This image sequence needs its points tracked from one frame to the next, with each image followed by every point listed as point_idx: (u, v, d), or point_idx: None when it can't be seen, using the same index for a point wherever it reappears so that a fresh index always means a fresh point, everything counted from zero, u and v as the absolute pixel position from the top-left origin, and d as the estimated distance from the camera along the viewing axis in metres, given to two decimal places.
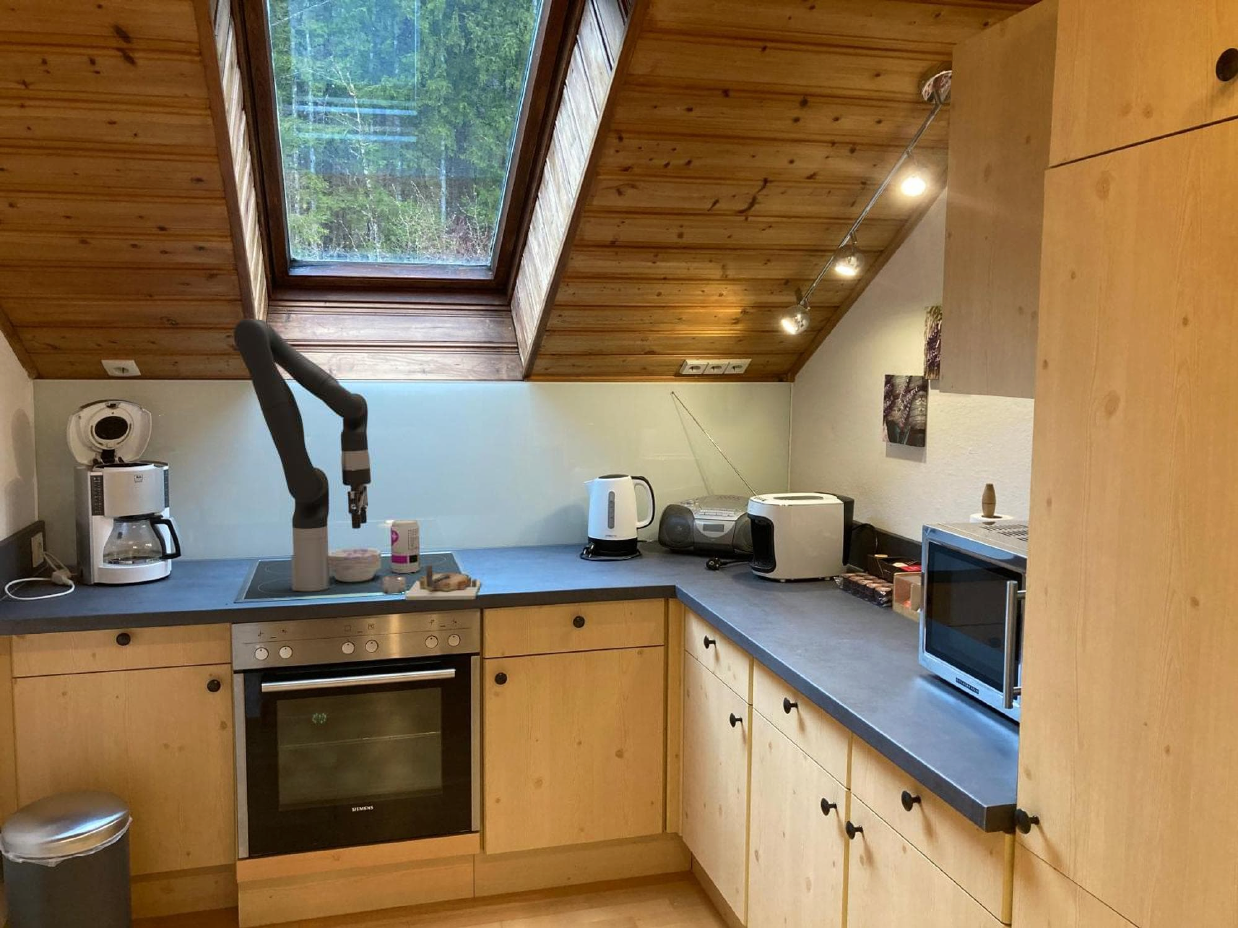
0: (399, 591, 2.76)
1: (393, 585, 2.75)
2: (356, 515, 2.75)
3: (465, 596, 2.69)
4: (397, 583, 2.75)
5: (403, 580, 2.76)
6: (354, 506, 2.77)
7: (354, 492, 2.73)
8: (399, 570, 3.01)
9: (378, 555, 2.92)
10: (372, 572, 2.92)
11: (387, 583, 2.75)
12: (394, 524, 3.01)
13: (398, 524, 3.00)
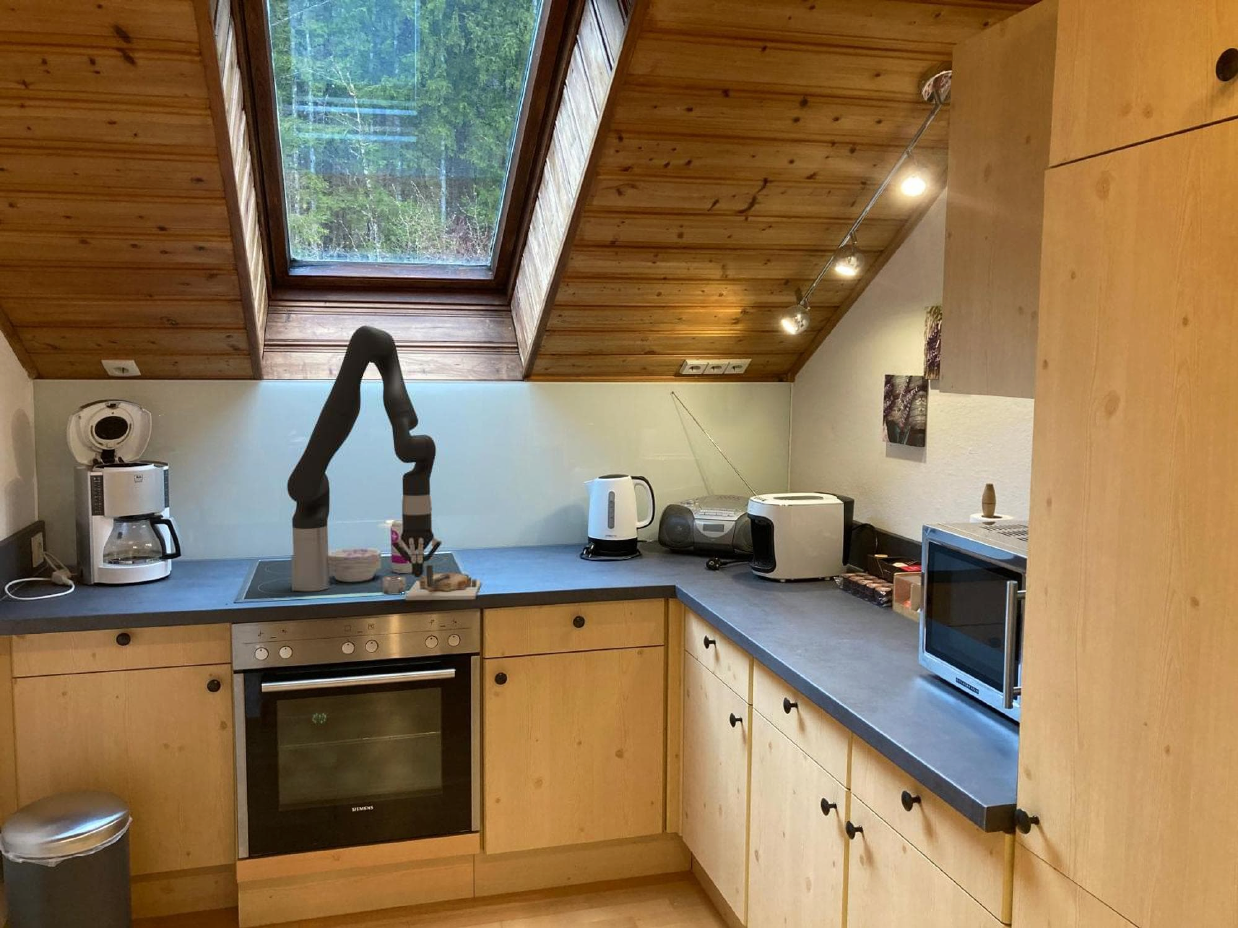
0: (399, 591, 2.76)
1: (393, 585, 2.75)
2: (423, 562, 2.70)
3: (465, 596, 2.69)
4: (397, 583, 2.75)
5: (403, 580, 2.76)
6: None
7: (441, 543, 2.70)
8: (399, 570, 3.01)
9: (378, 555, 2.92)
10: (372, 572, 2.92)
11: (387, 583, 2.75)
12: (394, 524, 3.01)
13: (398, 524, 3.00)
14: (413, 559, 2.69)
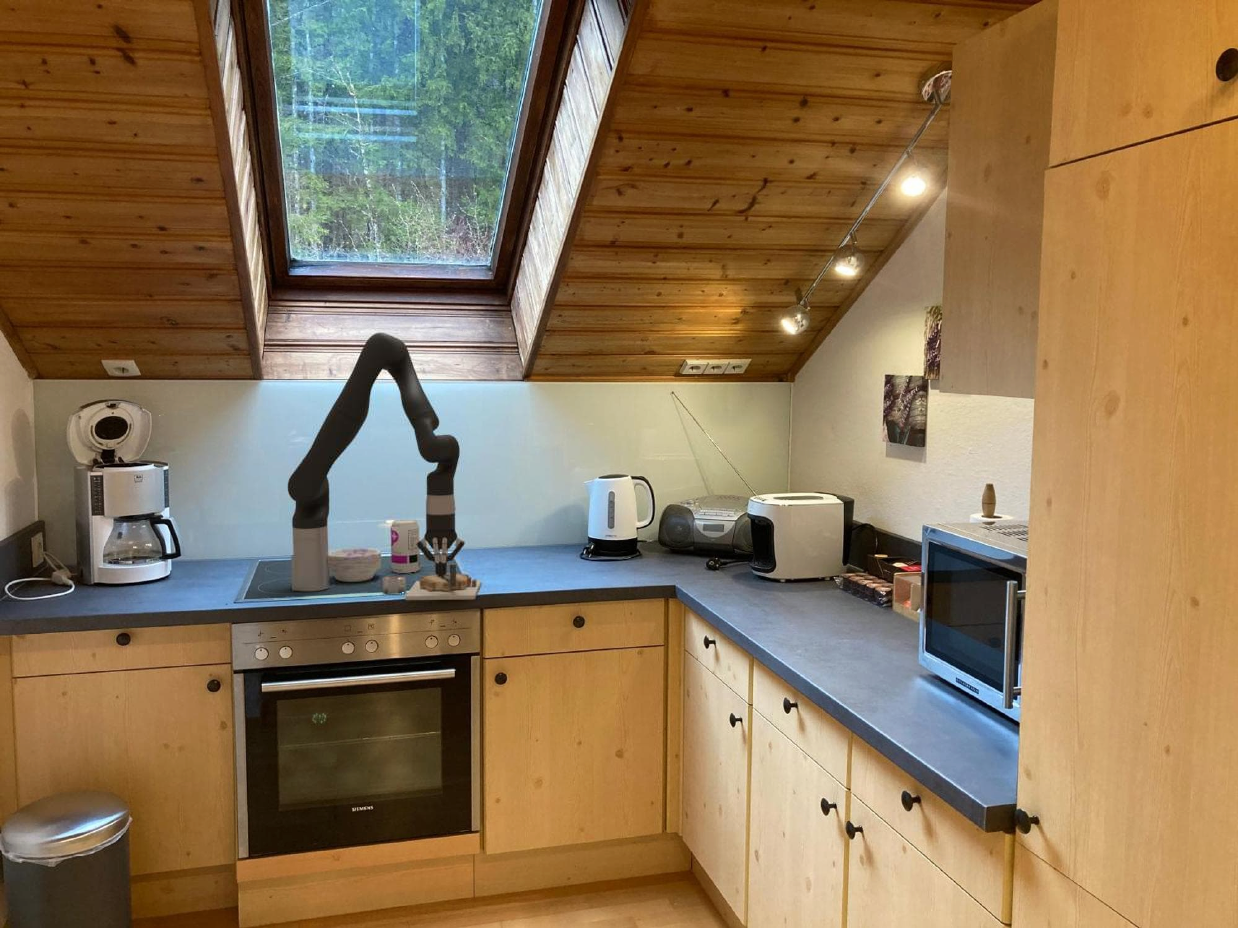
0: (399, 591, 2.76)
1: (393, 585, 2.75)
2: (446, 562, 2.71)
3: (465, 596, 2.69)
4: (397, 583, 2.75)
5: (403, 580, 2.76)
6: None
7: (464, 543, 2.71)
8: (399, 570, 3.01)
9: (378, 555, 2.92)
10: (372, 572, 2.92)
11: (387, 583, 2.75)
12: (394, 524, 3.01)
13: (398, 524, 3.00)
14: (436, 559, 2.69)
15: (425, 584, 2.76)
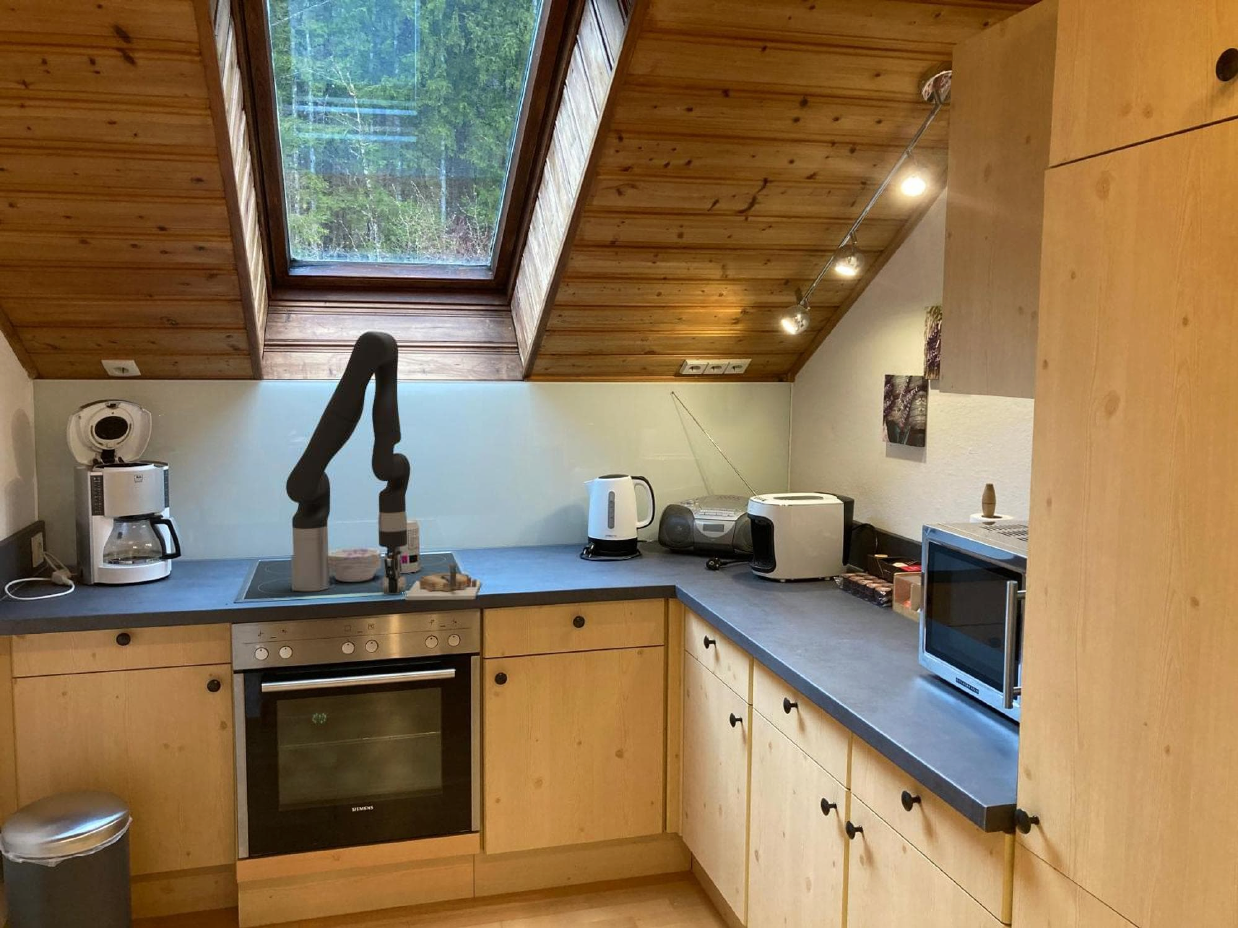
0: (399, 591, 2.76)
1: None
2: None
3: (465, 596, 2.69)
4: (397, 583, 2.75)
5: (403, 580, 2.76)
6: None
7: None
8: None
9: (378, 555, 2.92)
10: (372, 572, 2.92)
11: (387, 583, 2.75)
12: None
13: None
14: (396, 575, 2.75)
15: (425, 584, 2.76)
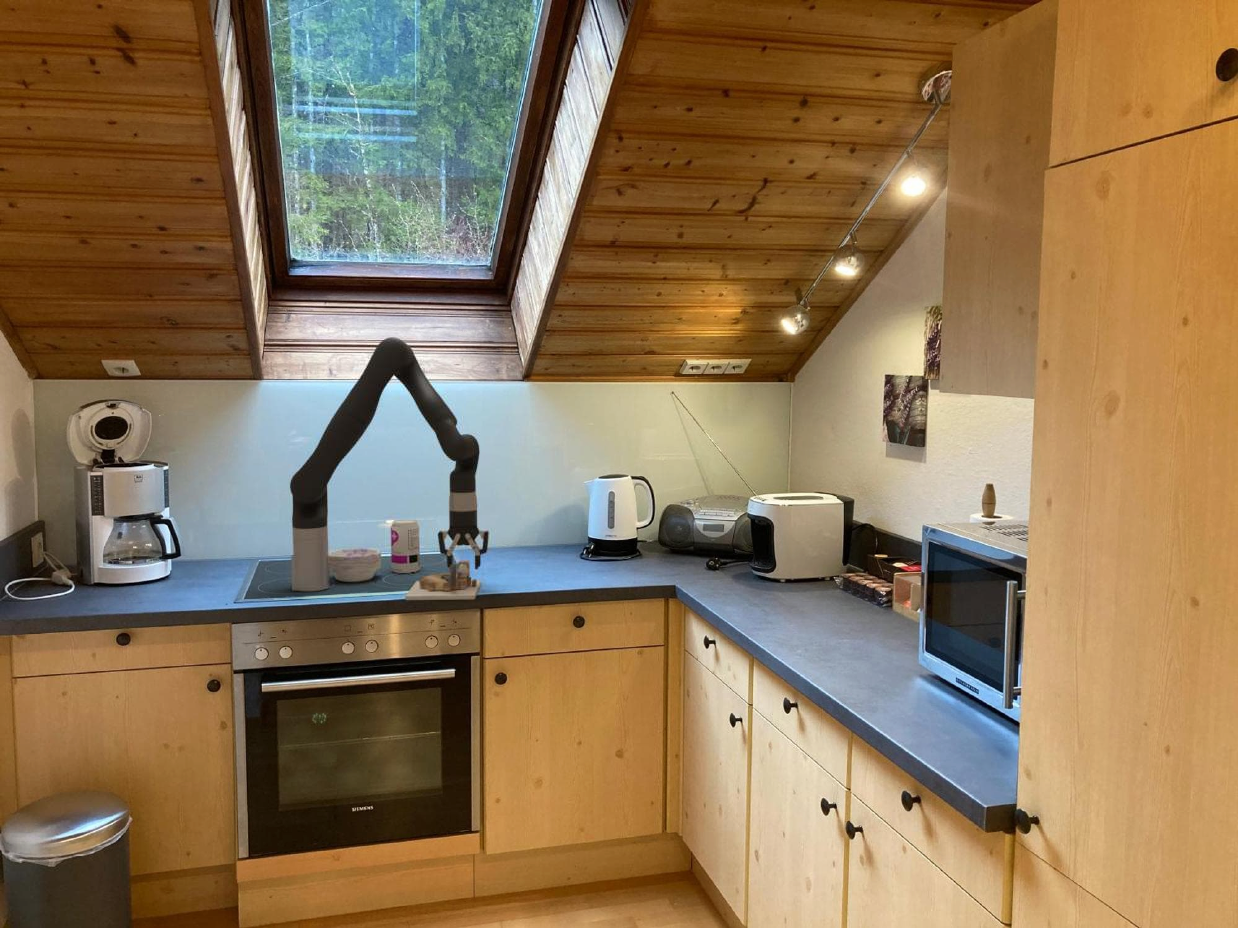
0: (457, 576, 2.79)
1: None
2: (480, 555, 2.81)
3: (465, 596, 2.69)
4: (457, 568, 2.79)
5: (459, 566, 2.78)
6: None
7: (488, 532, 2.80)
8: (399, 570, 3.01)
9: (378, 555, 2.92)
10: (372, 572, 2.92)
11: None
12: (394, 524, 3.01)
13: (398, 524, 3.00)
14: (449, 552, 2.79)
15: (425, 584, 2.76)
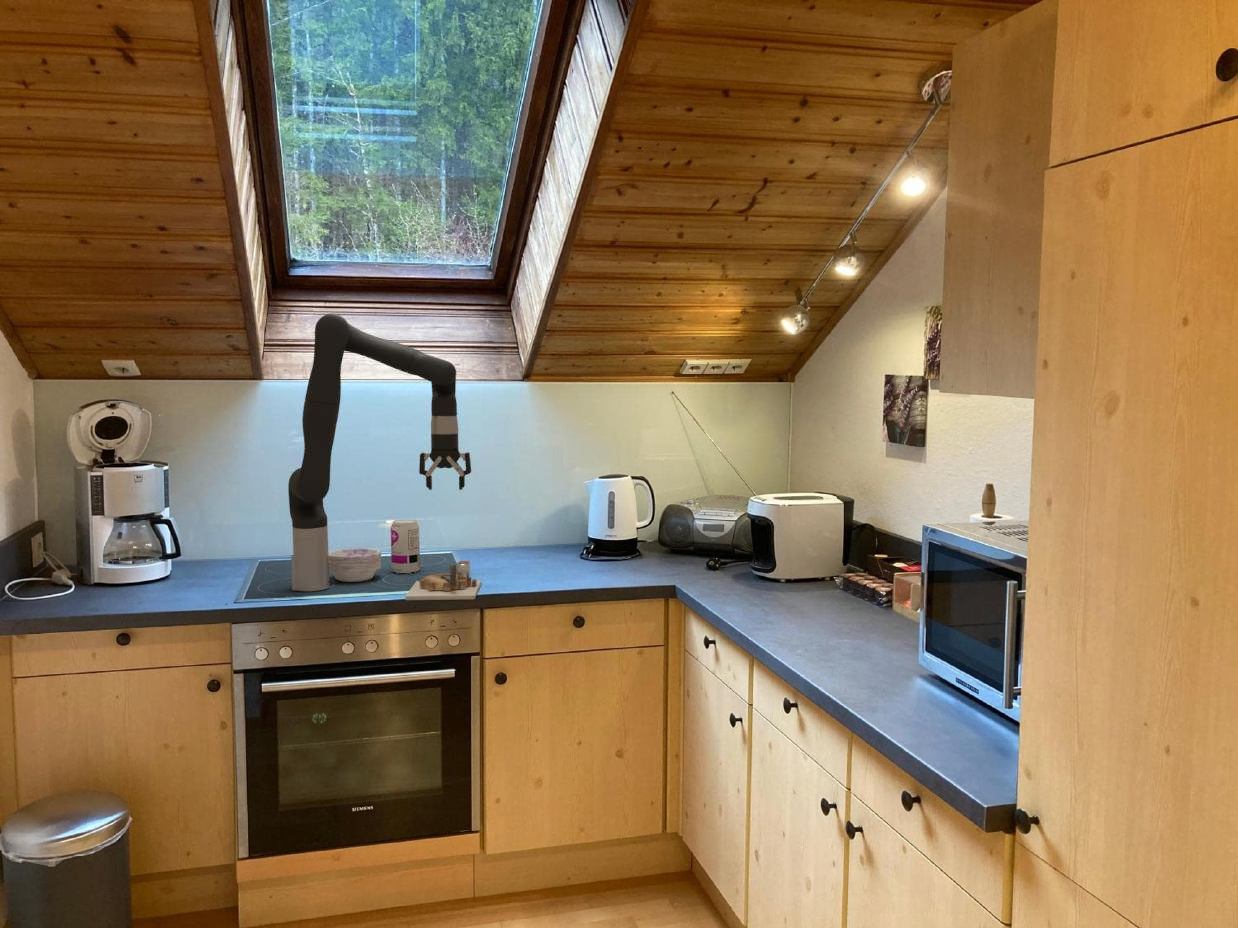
0: (457, 576, 2.79)
1: None
2: (464, 476, 2.89)
3: (465, 596, 2.69)
4: (457, 568, 2.79)
5: (459, 566, 2.78)
6: None
7: (469, 453, 2.89)
8: (399, 570, 3.01)
9: (378, 555, 2.92)
10: (372, 572, 2.92)
11: None
12: (394, 524, 3.01)
13: (398, 524, 3.00)
14: (428, 473, 2.87)
15: (425, 584, 2.76)
